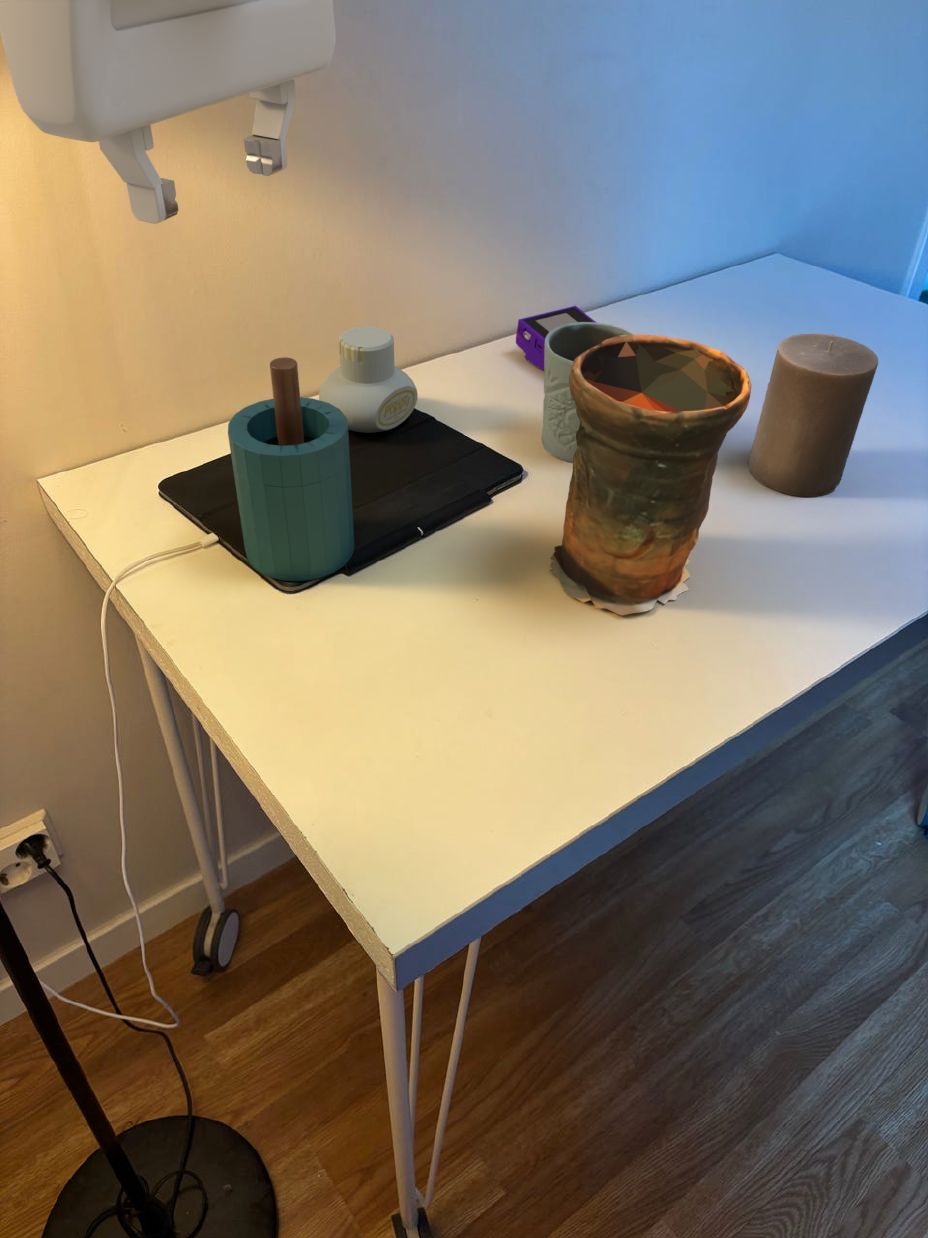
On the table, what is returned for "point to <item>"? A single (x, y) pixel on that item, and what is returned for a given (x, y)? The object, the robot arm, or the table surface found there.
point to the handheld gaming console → (544, 331)
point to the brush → (287, 401)
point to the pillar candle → (811, 413)
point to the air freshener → (369, 382)
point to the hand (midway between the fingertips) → (215, 193)
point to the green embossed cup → (566, 382)
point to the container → (293, 491)
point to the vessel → (643, 466)
